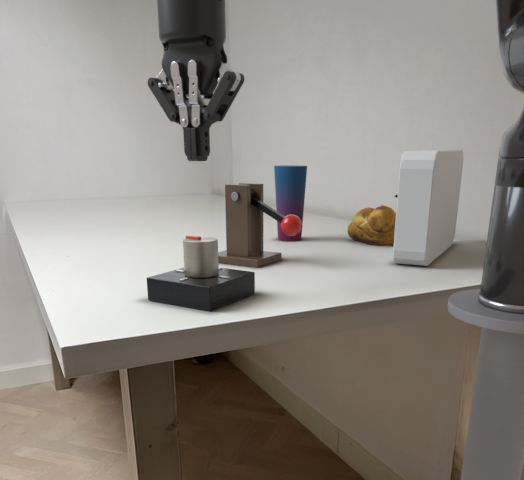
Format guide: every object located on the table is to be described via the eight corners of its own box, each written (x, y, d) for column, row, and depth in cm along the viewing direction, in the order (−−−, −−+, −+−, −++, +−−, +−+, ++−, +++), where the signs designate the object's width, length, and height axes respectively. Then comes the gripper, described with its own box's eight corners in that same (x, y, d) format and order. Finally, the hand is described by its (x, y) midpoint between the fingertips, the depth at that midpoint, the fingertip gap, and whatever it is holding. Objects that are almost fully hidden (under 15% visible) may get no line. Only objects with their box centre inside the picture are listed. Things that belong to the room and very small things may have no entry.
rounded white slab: (416, 241, 116) (424, 150, 110) (454, 243, 113) (464, 150, 107) (378, 265, 93) (385, 150, 86) (424, 269, 89) (436, 150, 83)
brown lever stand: (281, 259, 97) (282, 183, 93) (257, 267, 91) (257, 186, 86) (234, 254, 102) (233, 182, 98) (208, 261, 96) (205, 184, 91)
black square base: (255, 293, 74) (254, 270, 73) (210, 311, 66) (209, 285, 65) (196, 285, 79) (195, 263, 78) (147, 300, 71) (146, 276, 70)
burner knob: (225, 273, 72) (224, 236, 71) (205, 279, 69) (203, 240, 67) (198, 269, 74) (197, 233, 73) (177, 275, 71) (175, 237, 69)
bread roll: (336, 240, 118) (338, 201, 115) (370, 236, 123) (372, 198, 120) (380, 248, 108) (383, 206, 105) (414, 243, 113) (418, 203, 110)
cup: (292, 242, 114) (293, 166, 109) (267, 239, 118) (267, 165, 113) (311, 238, 119) (313, 165, 114) (286, 235, 123) (287, 165, 118)
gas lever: (300, 238, 91) (308, 219, 90) (290, 241, 89) (298, 222, 87) (240, 199, 95) (247, 181, 93) (229, 201, 92) (235, 182, 91)
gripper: (122, -4, 61) (135, 161, 67) (219, -23, 55) (224, 162, 61) (167, 9, 67) (175, 160, 73) (259, -6, 61) (260, 161, 67)
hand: (197, 160), depth 67 cm, fingers closed
